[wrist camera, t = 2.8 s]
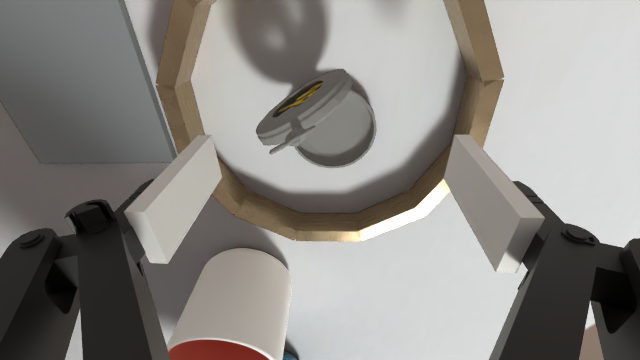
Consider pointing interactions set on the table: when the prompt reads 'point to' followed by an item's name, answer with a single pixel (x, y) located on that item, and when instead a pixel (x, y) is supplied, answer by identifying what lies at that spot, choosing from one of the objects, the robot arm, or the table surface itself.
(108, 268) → the robot arm
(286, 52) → the table surface
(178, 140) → the c ring
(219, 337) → the cup
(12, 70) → the coaster
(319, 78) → the pocket watch
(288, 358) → the lamp
